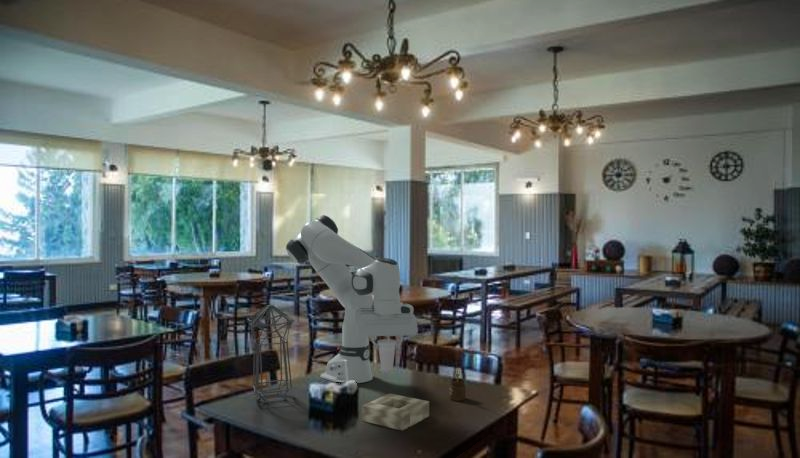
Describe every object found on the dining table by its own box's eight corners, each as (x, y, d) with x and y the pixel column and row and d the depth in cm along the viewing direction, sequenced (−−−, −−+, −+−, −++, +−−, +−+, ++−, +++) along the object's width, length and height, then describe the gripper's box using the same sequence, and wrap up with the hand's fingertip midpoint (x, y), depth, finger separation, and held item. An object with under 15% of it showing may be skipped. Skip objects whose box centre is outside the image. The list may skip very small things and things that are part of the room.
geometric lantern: (297, 402, 202) (295, 306, 201) (252, 409, 197) (250, 310, 196) (289, 390, 217) (287, 300, 216) (247, 395, 211) (245, 303, 210)
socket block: (362, 420, 183) (362, 405, 183) (390, 407, 197) (390, 393, 197) (402, 430, 174) (402, 414, 174) (429, 416, 188) (429, 401, 188)
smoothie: (393, 373, 181) (393, 330, 181) (374, 371, 183) (374, 329, 183) (398, 368, 187) (398, 326, 187) (380, 367, 189) (380, 325, 189)
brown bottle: (465, 396, 209) (465, 364, 209) (465, 401, 203) (465, 368, 203) (449, 396, 210) (449, 364, 210) (449, 401, 204) (449, 368, 204)
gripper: (355, 309, 181) (355, 352, 181) (418, 308, 183) (418, 350, 183) (355, 306, 187) (355, 347, 187) (416, 305, 189) (416, 346, 189)
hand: (387, 349), depth 185 cm, fingers closed on smoothie, 6 cm apart
